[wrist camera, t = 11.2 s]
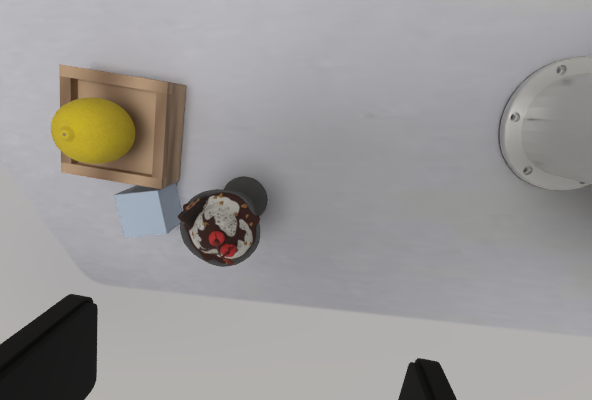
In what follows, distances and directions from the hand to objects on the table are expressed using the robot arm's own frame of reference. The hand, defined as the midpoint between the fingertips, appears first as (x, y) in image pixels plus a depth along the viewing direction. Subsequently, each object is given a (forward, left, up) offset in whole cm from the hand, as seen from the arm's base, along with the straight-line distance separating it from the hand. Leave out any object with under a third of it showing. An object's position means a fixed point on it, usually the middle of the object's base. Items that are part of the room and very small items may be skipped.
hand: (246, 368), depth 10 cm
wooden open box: (+18, -3, -28) cm, 33 cm away
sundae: (+5, +3, -28) cm, 29 cm away
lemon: (+18, -3, -25) cm, 30 cm away
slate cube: (+15, +5, -28) cm, 32 cm away
